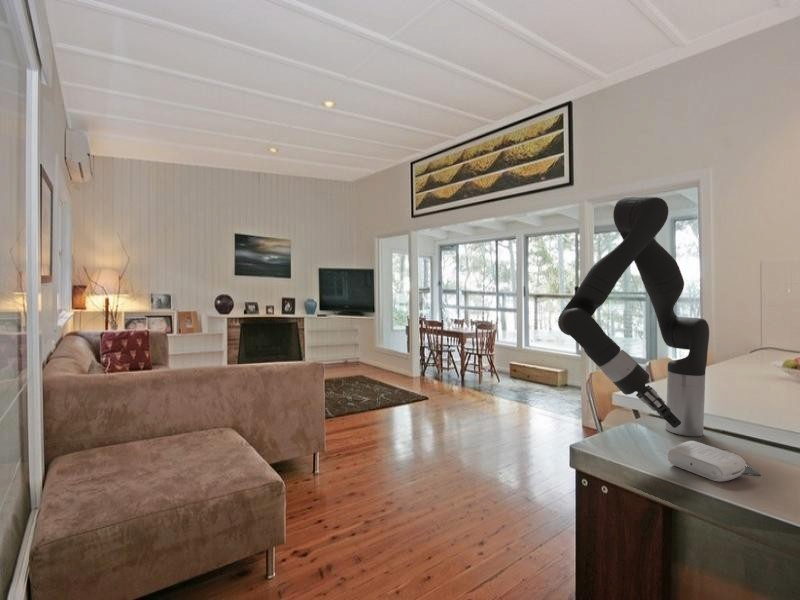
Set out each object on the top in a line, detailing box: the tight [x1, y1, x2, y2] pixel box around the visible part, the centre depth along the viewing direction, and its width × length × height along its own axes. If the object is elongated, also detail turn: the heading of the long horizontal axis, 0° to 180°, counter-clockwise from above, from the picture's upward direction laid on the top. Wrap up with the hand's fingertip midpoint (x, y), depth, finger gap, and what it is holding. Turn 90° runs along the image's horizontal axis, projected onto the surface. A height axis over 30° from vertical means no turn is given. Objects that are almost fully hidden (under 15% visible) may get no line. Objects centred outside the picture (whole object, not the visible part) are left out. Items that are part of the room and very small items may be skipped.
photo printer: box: [667, 440, 747, 482], centre depth 99 cm, size 10×4×12 cm
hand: (677, 424), depth 106 cm, fingers closed
